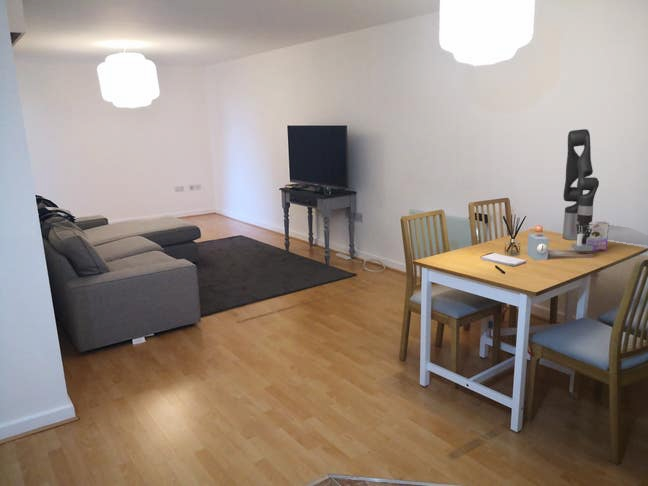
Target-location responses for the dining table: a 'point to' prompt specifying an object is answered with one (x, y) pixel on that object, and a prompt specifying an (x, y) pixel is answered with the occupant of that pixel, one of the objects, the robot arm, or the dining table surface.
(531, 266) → the dining table surface
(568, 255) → the rail track
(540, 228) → the button
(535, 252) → the end cabinet
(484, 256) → the dining table surface
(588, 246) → the carriage
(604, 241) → the candy box
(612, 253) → the dining table surface
